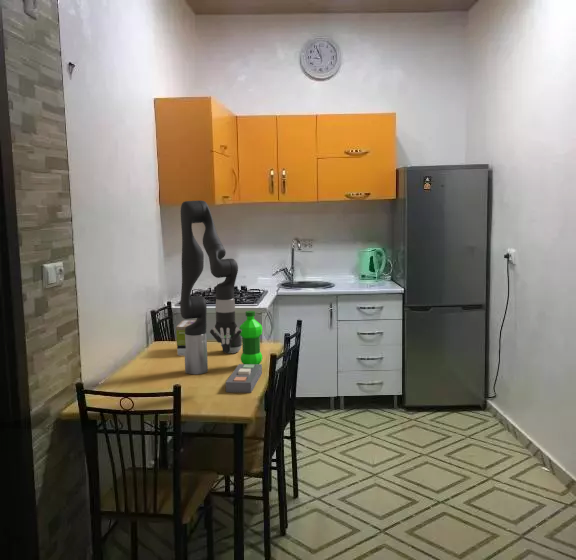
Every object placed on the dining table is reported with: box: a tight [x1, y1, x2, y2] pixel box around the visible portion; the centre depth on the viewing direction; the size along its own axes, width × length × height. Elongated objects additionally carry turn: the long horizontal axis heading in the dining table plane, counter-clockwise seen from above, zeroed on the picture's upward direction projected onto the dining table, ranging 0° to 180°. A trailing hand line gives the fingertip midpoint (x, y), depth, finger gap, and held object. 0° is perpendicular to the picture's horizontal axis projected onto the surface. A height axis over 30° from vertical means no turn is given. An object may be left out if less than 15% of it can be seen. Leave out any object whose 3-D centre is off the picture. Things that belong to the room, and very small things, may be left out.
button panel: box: [225, 363, 263, 394], centre depth 249 cm, size 10×26×4 cm, turn 173°
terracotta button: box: [234, 377, 247, 382], centre depth 240 cm, size 4×4×3 cm
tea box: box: [175, 319, 197, 357], centre depth 300 cm, size 15×10×15 cm, turn 178°
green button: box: [243, 365, 255, 369], centre depth 257 cm, size 4×4×3 cm
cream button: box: [238, 368, 251, 375], centre depth 248 cm, size 4×4×3 cm
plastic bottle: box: [238, 310, 263, 364], centre depth 271 cm, size 10×10×25 cm
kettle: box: [220, 326, 242, 354], centre depth 297 cm, size 10×10×15 cm
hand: (226, 352), depth 238 cm, fingers closed
